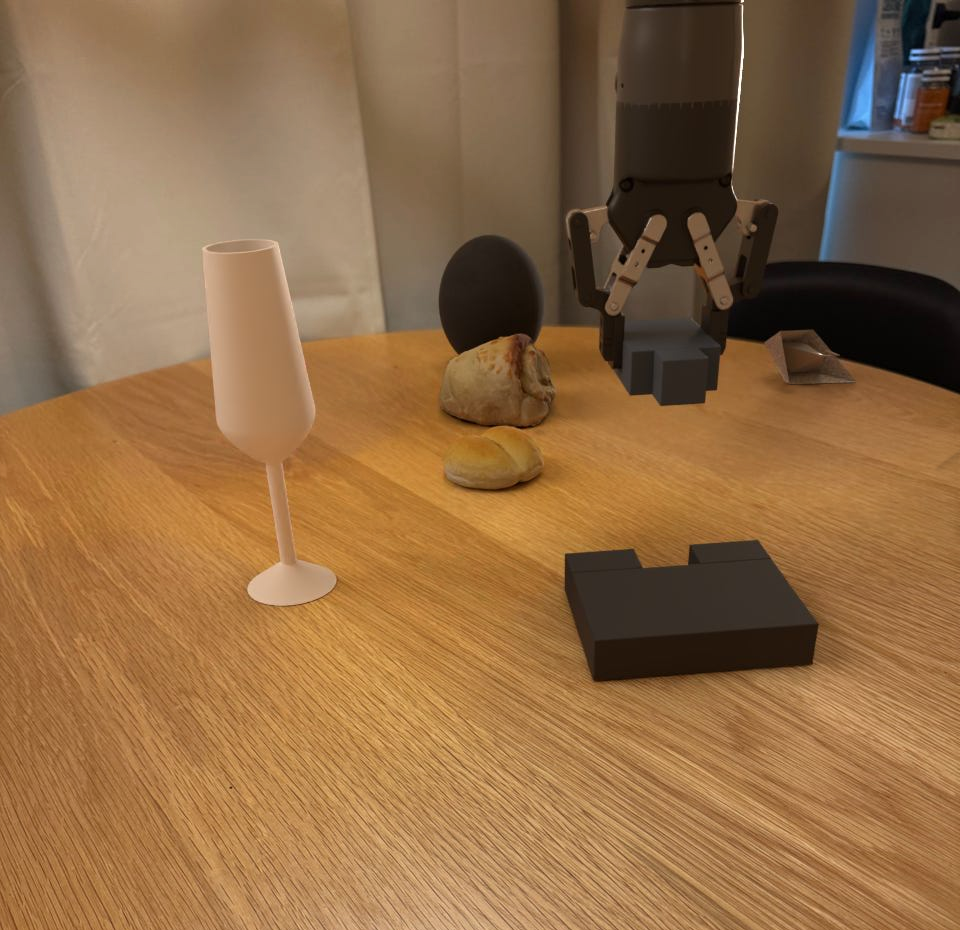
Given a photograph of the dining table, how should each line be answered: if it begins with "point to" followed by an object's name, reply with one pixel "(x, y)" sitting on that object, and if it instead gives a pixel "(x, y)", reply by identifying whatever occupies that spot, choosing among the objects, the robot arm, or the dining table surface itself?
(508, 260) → the decorative egg
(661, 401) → the pad
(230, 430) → the champagne flute
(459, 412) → the pastry
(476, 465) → the bread roll
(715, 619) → the notch pad
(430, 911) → the dining table surface
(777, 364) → the paper boat
